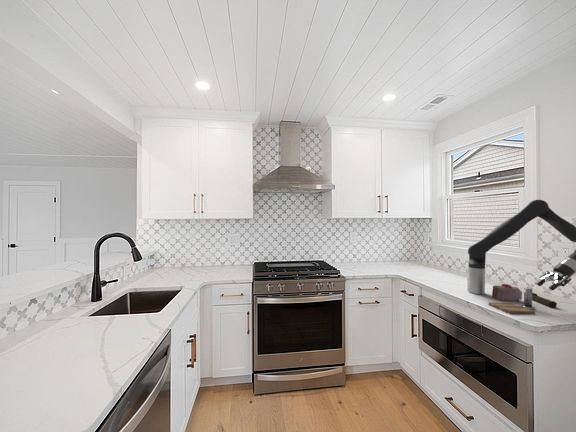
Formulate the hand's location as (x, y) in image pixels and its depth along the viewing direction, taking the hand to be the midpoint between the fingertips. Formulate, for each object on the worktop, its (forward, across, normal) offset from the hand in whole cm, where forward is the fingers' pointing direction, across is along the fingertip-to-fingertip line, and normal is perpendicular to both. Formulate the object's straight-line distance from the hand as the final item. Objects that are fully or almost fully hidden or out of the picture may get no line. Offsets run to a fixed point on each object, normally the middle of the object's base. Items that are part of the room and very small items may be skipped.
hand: (544, 287), depth 146 cm
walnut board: (+23, +4, -5) cm, 24 cm away
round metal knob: (+14, 0, +3) cm, 15 cm away
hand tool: (+5, -12, +14) cm, 19 cm away
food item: (+16, -15, +2) cm, 22 cm away
